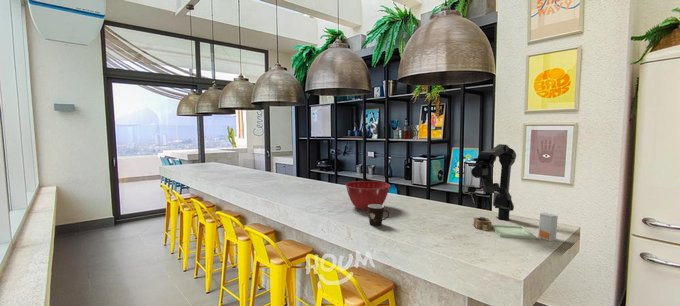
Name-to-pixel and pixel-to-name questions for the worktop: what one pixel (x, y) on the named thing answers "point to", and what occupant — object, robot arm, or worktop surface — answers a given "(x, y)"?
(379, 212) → the coffee mug
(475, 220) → the wooden lantern frame
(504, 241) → the worktop surface
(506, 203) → the robot arm
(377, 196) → the mixing bowl
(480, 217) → the grey upright post
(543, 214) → the skincare box
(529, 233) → the tray
